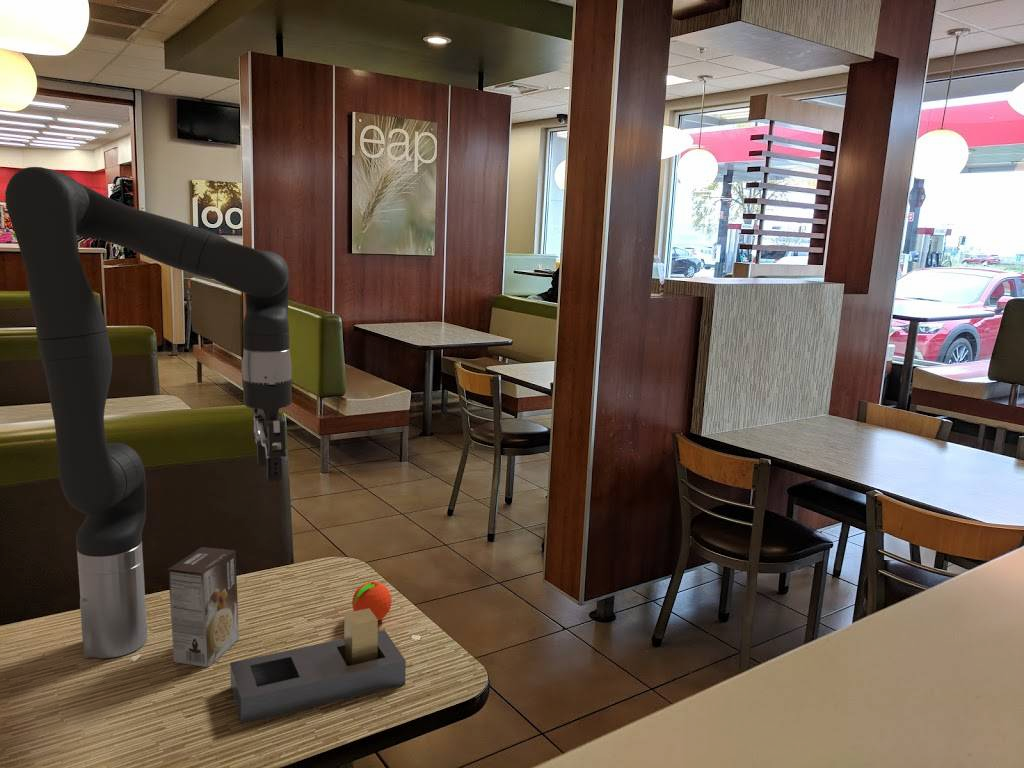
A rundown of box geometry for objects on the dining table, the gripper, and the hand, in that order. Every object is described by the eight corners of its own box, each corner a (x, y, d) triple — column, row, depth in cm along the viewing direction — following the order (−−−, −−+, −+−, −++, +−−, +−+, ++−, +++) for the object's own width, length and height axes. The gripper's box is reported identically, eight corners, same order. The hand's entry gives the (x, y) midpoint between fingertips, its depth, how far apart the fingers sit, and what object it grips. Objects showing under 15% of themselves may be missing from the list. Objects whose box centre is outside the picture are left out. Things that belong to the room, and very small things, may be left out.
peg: (352, 685, 118) (352, 625, 116) (344, 672, 121) (344, 613, 119) (377, 679, 119) (377, 619, 118) (369, 666, 123) (369, 608, 121)
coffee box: (205, 634, 130) (202, 545, 127) (240, 639, 129) (237, 549, 126) (171, 663, 122) (167, 567, 118) (208, 668, 120) (204, 573, 117)
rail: (241, 724, 107) (240, 698, 106) (231, 686, 116) (230, 662, 115) (405, 684, 118) (405, 660, 118) (384, 652, 127) (384, 629, 126)
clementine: (368, 636, 132) (368, 597, 131) (339, 624, 135) (339, 586, 134) (399, 617, 139) (400, 580, 137) (370, 606, 142) (370, 570, 141)
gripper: (236, 369, 129) (238, 463, 132) (250, 386, 117) (253, 488, 120) (282, 367, 132) (283, 458, 136) (300, 383, 120) (302, 482, 123)
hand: (269, 472), depth 128 cm, fingers open, 8 cm apart
